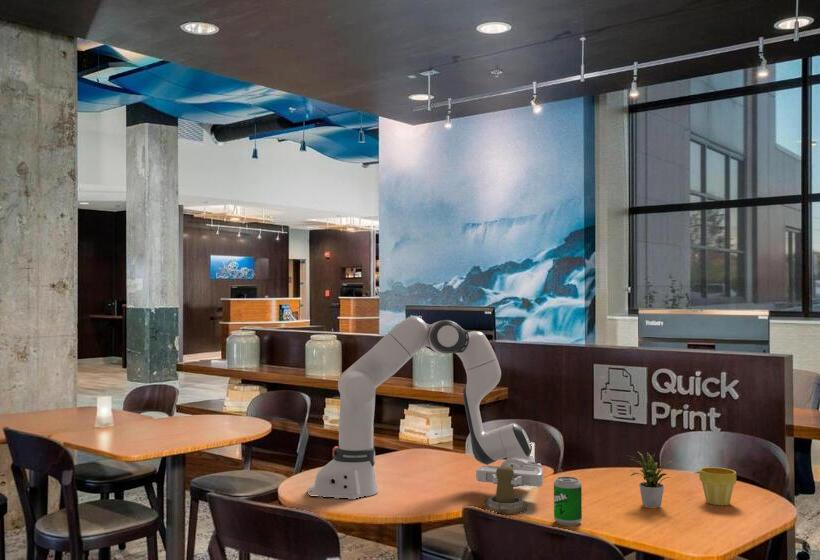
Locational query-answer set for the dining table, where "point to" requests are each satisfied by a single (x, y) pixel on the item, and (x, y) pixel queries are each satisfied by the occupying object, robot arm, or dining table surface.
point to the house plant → (651, 482)
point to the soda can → (567, 501)
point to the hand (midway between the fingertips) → (504, 481)
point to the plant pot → (717, 484)
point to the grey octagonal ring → (505, 506)
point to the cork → (504, 485)
